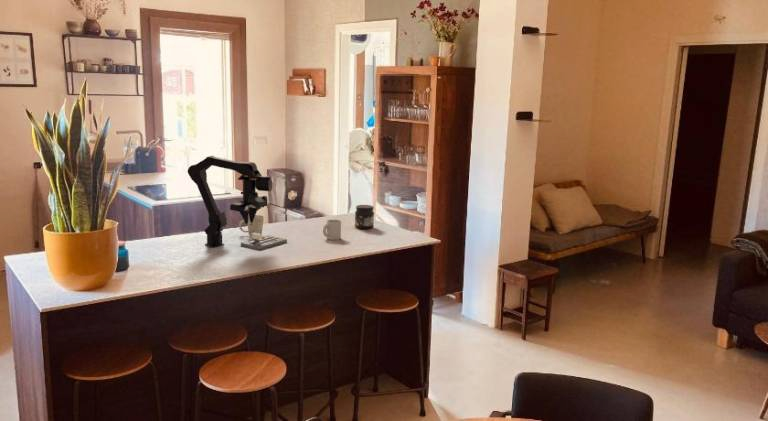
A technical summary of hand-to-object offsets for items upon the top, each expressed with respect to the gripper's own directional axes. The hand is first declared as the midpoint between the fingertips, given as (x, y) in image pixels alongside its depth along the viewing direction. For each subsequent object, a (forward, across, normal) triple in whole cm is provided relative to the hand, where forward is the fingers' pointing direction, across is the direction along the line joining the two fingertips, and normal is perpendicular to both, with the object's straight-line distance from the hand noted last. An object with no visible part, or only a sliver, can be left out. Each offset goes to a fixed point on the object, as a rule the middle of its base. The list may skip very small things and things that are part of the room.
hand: (249, 223), depth 280 cm
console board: (+12, +10, 0) cm, 16 cm away
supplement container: (+12, +71, -16) cm, 74 cm away
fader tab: (+10, +5, 0) cm, 12 cm away
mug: (+12, +17, +16) cm, 26 cm away
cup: (+12, +40, -18) cm, 45 cm away
